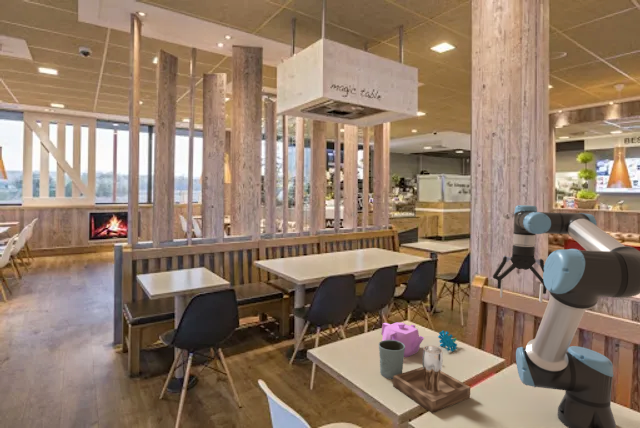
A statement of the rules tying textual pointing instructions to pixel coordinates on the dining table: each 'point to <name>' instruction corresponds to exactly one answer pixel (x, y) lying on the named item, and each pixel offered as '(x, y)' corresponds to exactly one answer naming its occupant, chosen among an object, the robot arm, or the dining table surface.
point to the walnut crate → (413, 388)
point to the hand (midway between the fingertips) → (520, 299)
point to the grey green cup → (391, 358)
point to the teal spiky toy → (447, 341)
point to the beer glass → (432, 368)
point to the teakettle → (403, 336)
